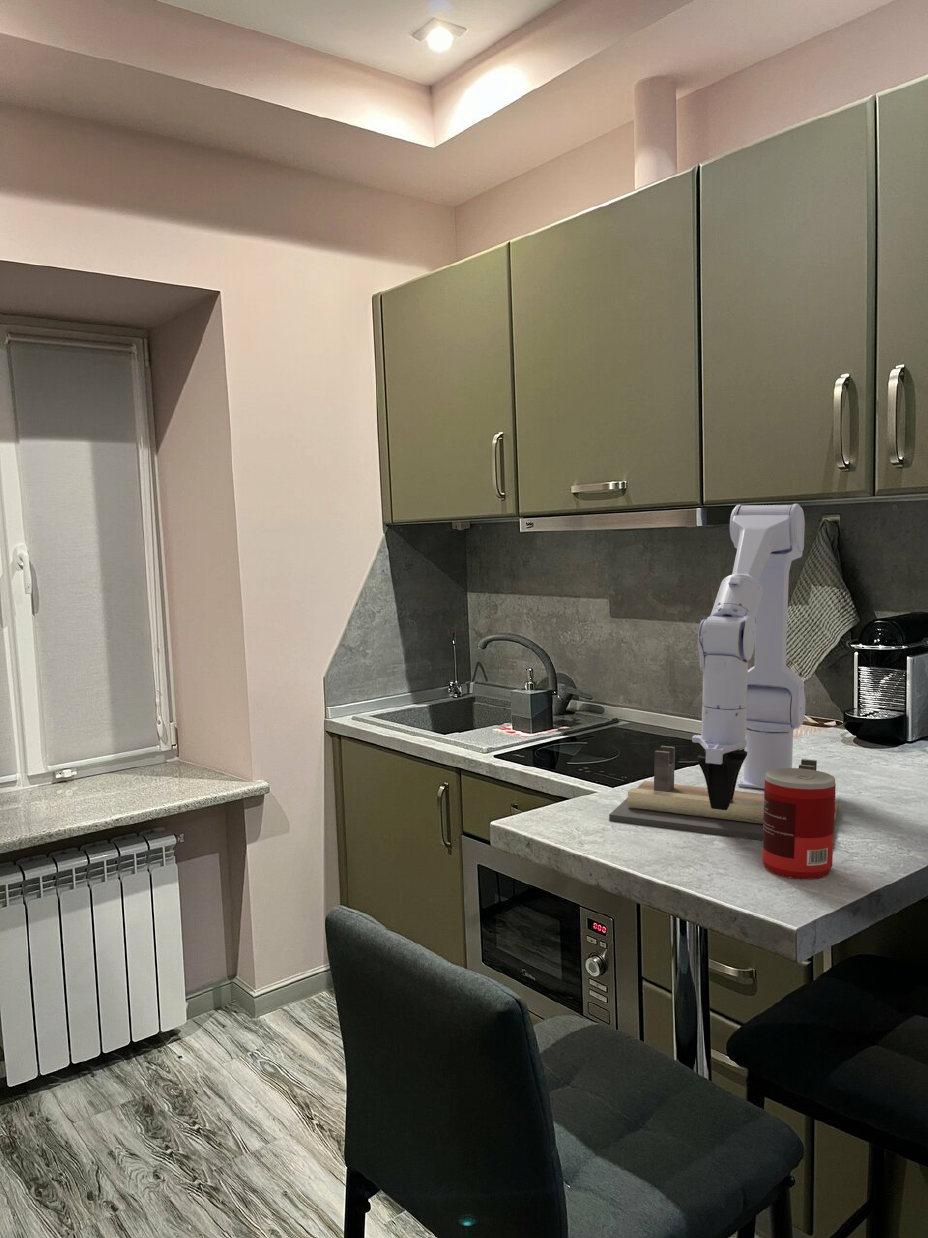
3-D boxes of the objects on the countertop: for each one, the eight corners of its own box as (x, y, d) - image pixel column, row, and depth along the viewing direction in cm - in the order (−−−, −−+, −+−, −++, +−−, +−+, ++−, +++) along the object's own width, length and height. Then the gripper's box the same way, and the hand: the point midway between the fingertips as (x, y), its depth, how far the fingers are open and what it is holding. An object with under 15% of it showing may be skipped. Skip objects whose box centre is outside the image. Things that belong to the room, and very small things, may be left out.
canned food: (837, 865, 112) (841, 772, 112) (825, 885, 106) (829, 787, 105) (770, 853, 116) (773, 764, 115) (754, 872, 109) (757, 778, 109)
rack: (644, 787, 148) (645, 741, 147) (838, 809, 136) (840, 759, 136) (629, 801, 140) (630, 752, 139) (834, 825, 128) (836, 772, 128)
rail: (631, 803, 135) (631, 788, 134) (820, 826, 124) (821, 809, 124) (627, 807, 133) (627, 791, 132) (819, 830, 122) (820, 813, 122)
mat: (627, 802, 139) (628, 797, 139) (834, 827, 127) (834, 821, 127) (609, 820, 130) (609, 814, 130) (829, 848, 118) (829, 842, 118)
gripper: (703, 696, 136) (701, 790, 137) (683, 712, 122) (680, 816, 123) (755, 700, 133) (752, 796, 134) (739, 716, 120) (736, 823, 121)
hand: (721, 806), depth 128 cm, fingers closed on rail, 2 cm apart
